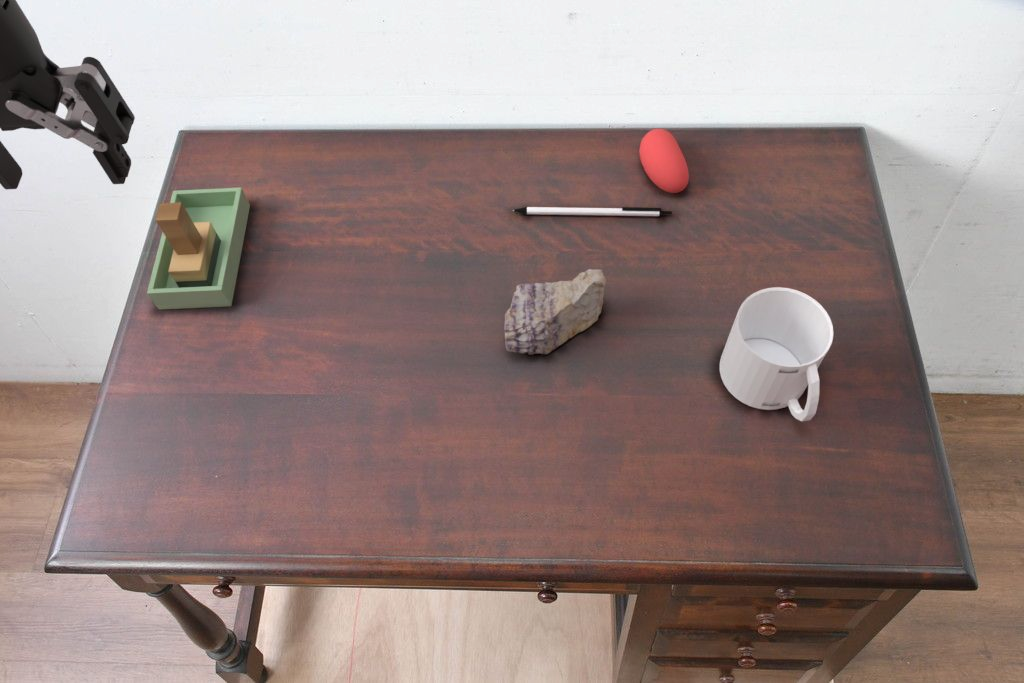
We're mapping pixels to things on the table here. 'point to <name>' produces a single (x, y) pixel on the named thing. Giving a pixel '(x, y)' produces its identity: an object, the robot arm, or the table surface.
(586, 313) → the mineral specimen
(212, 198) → the tray
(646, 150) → the stress ball
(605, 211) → the pen
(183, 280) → the scrub brush
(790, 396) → the mug
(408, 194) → the table surface
